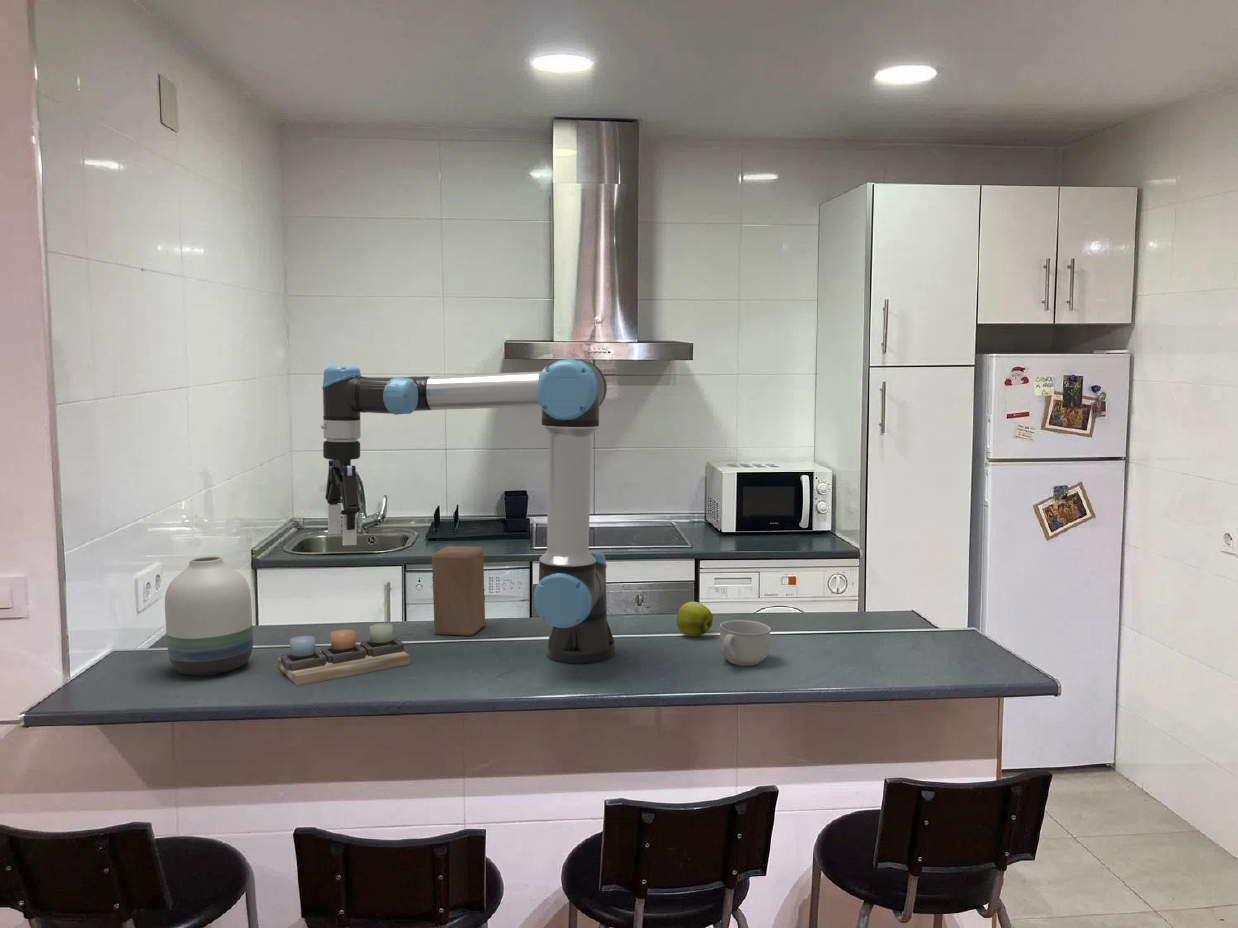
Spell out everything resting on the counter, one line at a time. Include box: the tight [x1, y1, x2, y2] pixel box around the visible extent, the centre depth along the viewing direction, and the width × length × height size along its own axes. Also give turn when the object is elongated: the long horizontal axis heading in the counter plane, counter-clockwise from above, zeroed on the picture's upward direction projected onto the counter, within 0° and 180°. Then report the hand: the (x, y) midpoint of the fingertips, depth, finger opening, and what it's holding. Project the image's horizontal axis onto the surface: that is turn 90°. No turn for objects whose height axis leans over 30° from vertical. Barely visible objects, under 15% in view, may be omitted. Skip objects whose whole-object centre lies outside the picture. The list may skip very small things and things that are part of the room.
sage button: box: [369, 622, 394, 643], centre depth 210 cm, size 5×5×3 cm
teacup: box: [719, 619, 772, 667], centre depth 203 cm, size 14×11×8 cm
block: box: [431, 545, 486, 637], centre depth 232 cm, size 10×10×20 cm
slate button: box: [289, 635, 317, 656], centre depth 201 cm, size 5×5×3 cm
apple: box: [676, 601, 714, 637], centre depth 225 cm, size 8×9×8 cm
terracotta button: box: [330, 628, 356, 650], centre depth 206 cm, size 5×5×3 cm
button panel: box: [277, 637, 411, 686], centre depth 206 cm, size 15×25×4 cm, turn 123°
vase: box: [164, 555, 254, 676], centre depth 204 cm, size 17×17×24 cm
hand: (341, 539), depth 204 cm, fingers open, 13 cm apart
